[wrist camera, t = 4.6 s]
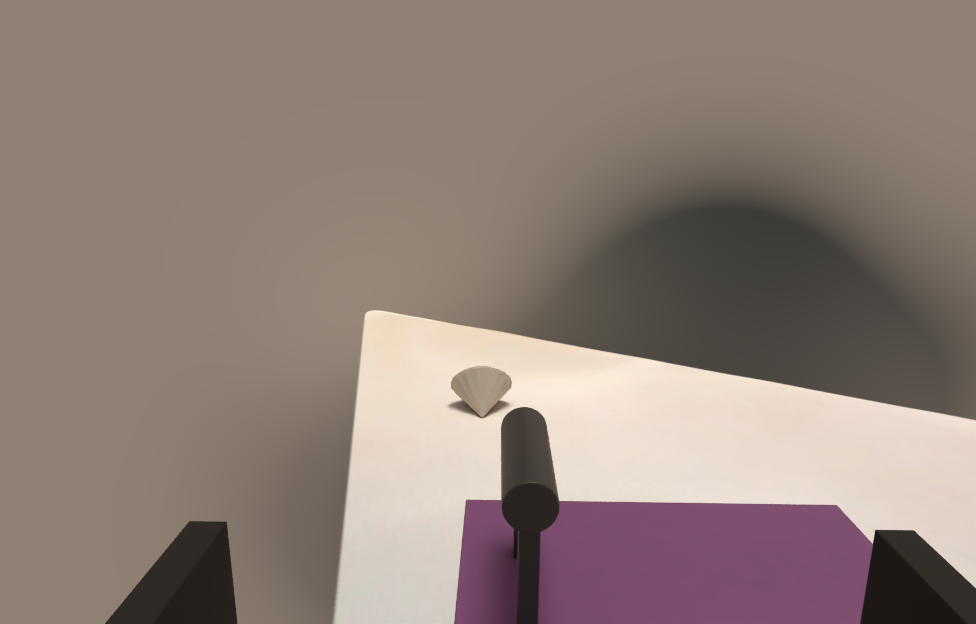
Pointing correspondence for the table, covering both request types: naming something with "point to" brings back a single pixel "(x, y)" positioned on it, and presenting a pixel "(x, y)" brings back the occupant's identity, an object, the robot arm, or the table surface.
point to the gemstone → (481, 387)
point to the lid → (648, 554)
